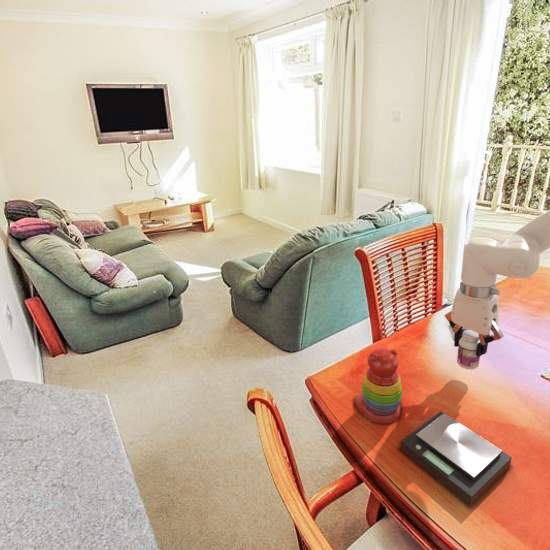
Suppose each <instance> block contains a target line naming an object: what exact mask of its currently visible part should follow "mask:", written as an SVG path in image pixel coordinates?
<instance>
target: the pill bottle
mask: <svg viewBox="0 0 550 550" xmlns="http://www.w3.org/2000/svg"><path fill="white" fill-rule="evenodd" d="M479 342H480V340H479V335H478V333H476V332H474V331H471V330H464V332H463V334H462V338H460V340H459V345H458V347H457V357H456V364H457V365H458V366H459V367H460V368H462V369H464V370H470V371H471V370H476V369H478V368H479V367H480V360H481V356H480V357H477V356H476V352H477V344H478V343H479Z"/></svg>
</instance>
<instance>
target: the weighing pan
mask: <svg viewBox="0 0 550 550" xmlns="http://www.w3.org/2000/svg"><path fill="white" fill-rule="evenodd" d="M443 413H444V412H443ZM416 437H417V438H418V439H419V440H421V441H422V442H423V443H425V444H426V445H427V446H429V447H430V448H431V449H433V450H434V451H435V452H437V453H438V454H439V455H441V456H442V457H443V458H445V459H446V460H447V461H449V462H450V463H451V464H453V465H454V466H455V467H457V468H458V469H459V470H461V471H462V472H463V473H465V474H466V475H467V476H469V477H470V478H471V479H472V480H475V479H476V478H477V477H478V476H479V475H480V474H481V473H482V472H483V471H484V470H485V469H486V468H487V467H488V466H489V465H490V464H491V463H492V462H493V461H494V460H496V459H497V458H498V457H499V456H500V455H501V454H502V451H503V450H502V449H501V448H499V447H498V446H496V445H495V444H493V443H491V442H490V441H489V440H487V439H485V438H484V437H483V436H481V435H480V434H478V433H476V432H475V431H473V430H471V429H470V428H468V427H467V426H465V425H463V424H462V423H461V422H459V421H458V420H456V419H454V418H453V417H452V416H450V415H448V414H446V413H444V414H443V415H441V416H440V417H439V418H437V419H436V420H435V421H433V422H432V423H431V424H429V425H428V426H427V427H425V428H424V429H423V430H421V431H420V432H419V433H417V434H416Z"/></svg>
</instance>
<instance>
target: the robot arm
mask: <svg viewBox="0 0 550 550" xmlns="http://www.w3.org/2000/svg"><path fill="white" fill-rule="evenodd" d="M548 249H550V209H548V210H547V211H545V212H543V213H541V214H539V215H538V216H536V217H535V218H533V219H532V220H530V221H528V222H527V223H526V224H524V225H523V226H521V227H520V228H518V230H516V231H515V232H513V233H512V234H511V235H509V236H508V237H507V238H506V239H505V240H504V242H503V244H502V245H501V244H500V242H499V241H498V240H496V239H494V238H490V237H483V236H480V237H479V236H477V237H471V238H469V239H467V240H466V241H465V242H464V245H463V253H462V263H461V273H460V274H461V275H460V280H459V281H460V283H459V288H457V290H456V293H455V295H454V298H453V302H452V306H451V310H450V311H449V312H447V313H445V314H444V318H445V319H446V320H447V322H448V323H449V326H450V327H451V328H452V333H454V335H453V336H454V337H453V346H454V347H455V348H458V345H459V340H460V338H462V334H463V332H464V331H465V330H464V329H463V327H464V328H467V329H469V330H471V331H474V332H476V333H478V335H479V340H480V342H479V343H478V344H477V352H476V356H477V357H480V358H481V357H482V356H483V355H485V354H487V352H488V348H489V347H488V346H489V343H492V342H494V341H498V340H501V339H503V338H504V337H505V335H504V334H503V332H502V331H501V329H500V327H499V326H498V325H499V313H500V312H499V311H500V309H499V305H500V304H499V298H498V297H499V295H500V294H501V289H498V288H497V284H496V283H497V282H496V281H497V276H498V275H499V276H502V277H506V278H510V279H515V280H523V279H528V278H531V277H532V276H534V275H535V274H536V273H537V271H538V270H539V267H540V254H542V253H543V252H545V251H546V250H548ZM490 331H491V332H492V334H490Z"/></svg>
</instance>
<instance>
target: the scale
mask: <svg viewBox="0 0 550 550" xmlns="http://www.w3.org/2000/svg"><path fill="white" fill-rule="evenodd" d="M443 414H444V412H443V411H441V410H440V411H439V412H438V413H437V414H435V415H433V416H432V417H431V418H430V419H428V420H427V421H425V422H424V423H423V424H421V425H420V426H419V427H418V428H416V429H415V430H414V431H412V432H411V433H410V434H408V435H407V436H405V437H404V438H403V439H401V441H400V448H399V449H400V452H402V453H403V454H404V455H406V457H408V458H409V459H410V460H411V461H413V462H414V463H415V464H416V465H418V466H419V467H420V468H421V469H422V470H424V471H425V472H426V473H427V474H429V475H430V476H431V477H432V478H434V479H435V480H436V481H437V482H438V483H440V484H441V485H442V486H443V487H445V488H446V489H447V490H448V491H450V492H451V493H452V494H453V495H454V496H456V497H457V498H458V499H459V500H461V501H462V502H463V503H464V504H466V506H468V507H469V508H470V507H472V505H474V504H475V502H476V501H477V500H479V499H480V498H481V496H483V495H484V493H486V491H488V489H489V488H491V486H493V484H494V483H496V481H497V480H498V479H500V477H501V476H502V475H504V473H506V472H507V470H509V468H510V467H511V463H512V460H513V457H512V456H510V455H509V454H507V453H506V452H505V451H503V450H502V454H501V455H500V456H499V457H498V458H497V459H496V460H494V461H493V462H492V463H491V464H490V465H489V466H488V467H487V468H486V469H485V470H484V471H483V472H482V473H481V474H480V475H479V476H478V477H477V478H476V479H475V480H472V479H471V478H470V477H469V476H467V475H466V474H465V473H463V472H462V471H461V470H459V469H458V468H457V467H455V466H454V465H453V464H451V463H450V462H449V461H447V460H446V459H445V458H443V457H442V456H441V455H439V454H438V453H437V452H435V451H434V450H433V449H431V448H430V447H429V446H427V445H426V444H425V443H423V442H422V441H421V440H419V439H418V438H417V437H416V434H417V433H419V432H420V431H421V430H423V429H424V428H425V427H427V426H428V425H429V424H431V423H432V422H433V421H435V420H436V419H437V418H439V417H440V416H441V415H443Z"/></svg>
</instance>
